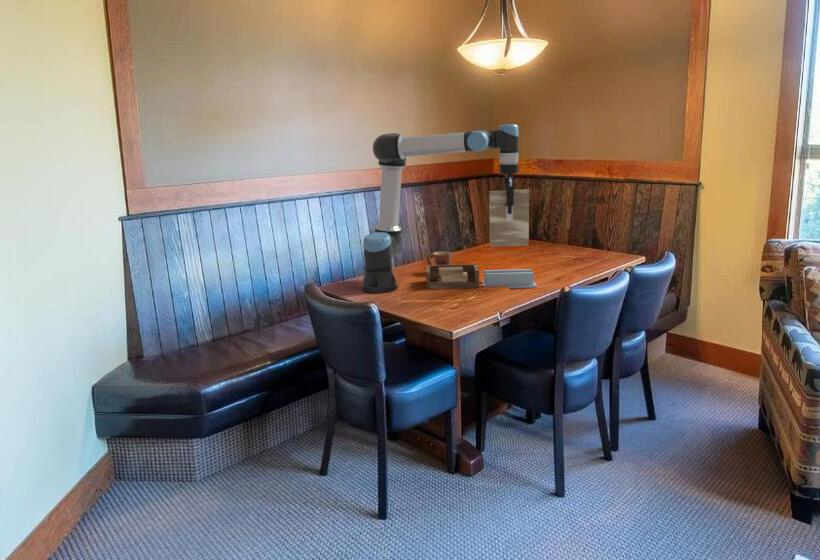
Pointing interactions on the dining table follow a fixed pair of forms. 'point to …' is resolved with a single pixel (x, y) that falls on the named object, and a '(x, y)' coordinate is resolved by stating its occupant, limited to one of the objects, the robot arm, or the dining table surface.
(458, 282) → the offcut low
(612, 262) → the dining table surface
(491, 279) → the slotted stand
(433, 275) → the rack
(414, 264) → the dining table surface
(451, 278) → the offcut mid
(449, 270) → the offcut top
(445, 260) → the mug
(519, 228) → the birch board
